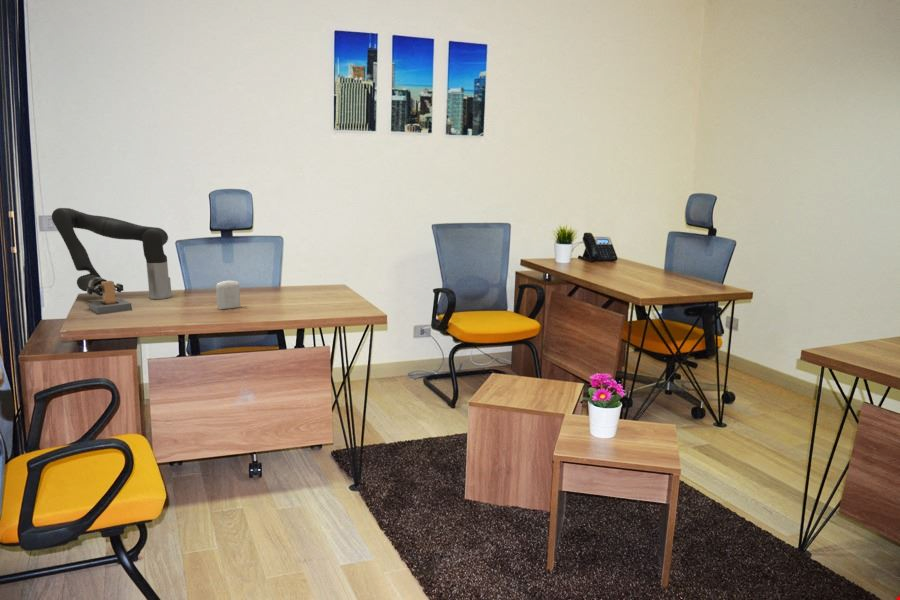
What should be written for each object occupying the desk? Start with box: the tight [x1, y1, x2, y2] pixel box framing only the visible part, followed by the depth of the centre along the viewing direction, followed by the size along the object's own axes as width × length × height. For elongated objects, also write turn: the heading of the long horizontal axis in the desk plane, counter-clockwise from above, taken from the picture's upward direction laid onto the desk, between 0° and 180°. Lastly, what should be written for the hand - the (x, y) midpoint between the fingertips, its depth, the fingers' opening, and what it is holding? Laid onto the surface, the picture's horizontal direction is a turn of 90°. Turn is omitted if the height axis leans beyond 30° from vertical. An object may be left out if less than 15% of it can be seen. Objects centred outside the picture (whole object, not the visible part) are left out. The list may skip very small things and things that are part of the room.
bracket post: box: [101, 280, 117, 305], centre depth 318 cm, size 4×4×12 cm
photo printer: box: [215, 280, 241, 311], centre depth 320 cm, size 10×4×12 cm, turn 123°
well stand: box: [87, 298, 133, 315], centre depth 319 cm, size 14×14×3 cm
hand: (109, 291), depth 316 cm, fingers open, 8 cm apart
